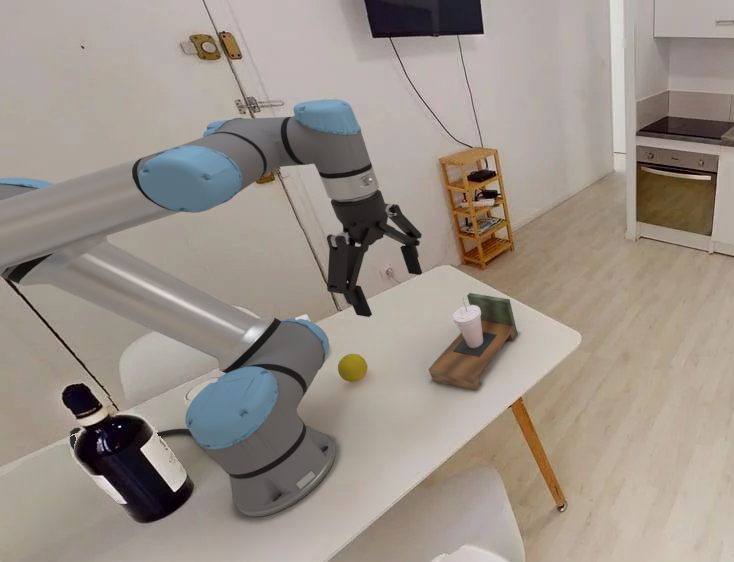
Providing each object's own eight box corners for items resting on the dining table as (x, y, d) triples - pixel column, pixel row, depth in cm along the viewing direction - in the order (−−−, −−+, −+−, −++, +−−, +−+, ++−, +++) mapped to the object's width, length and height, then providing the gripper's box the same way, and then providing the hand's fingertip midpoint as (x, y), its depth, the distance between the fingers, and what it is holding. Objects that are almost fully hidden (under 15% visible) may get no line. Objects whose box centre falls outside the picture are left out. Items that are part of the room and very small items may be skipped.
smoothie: (492, 334, 105) (481, 291, 99) (482, 352, 100) (468, 308, 93) (469, 333, 106) (455, 290, 99) (457, 351, 100) (442, 307, 94)
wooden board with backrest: (432, 380, 98) (418, 344, 92) (479, 326, 114) (469, 292, 108) (476, 390, 95) (463, 353, 89) (517, 333, 111) (509, 299, 105)
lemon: (359, 390, 96) (346, 366, 92) (340, 387, 97) (326, 363, 93) (377, 372, 101) (365, 348, 97) (358, 369, 102) (346, 345, 98)
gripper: (306, 230, 59) (356, 339, 69) (423, 170, 80) (447, 261, 90) (265, 224, 60) (320, 332, 71) (390, 167, 82) (418, 257, 92)
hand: (392, 292), depth 81 cm, fingers open, 13 cm apart
